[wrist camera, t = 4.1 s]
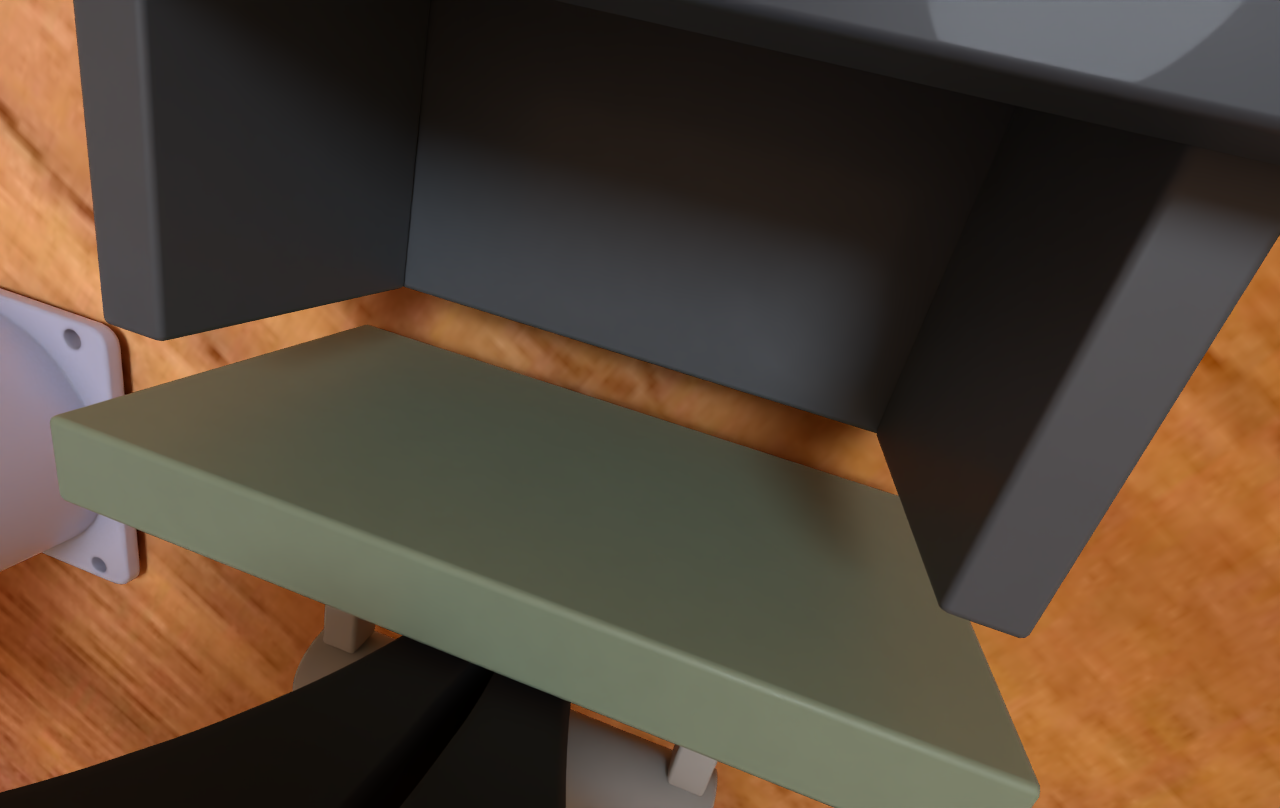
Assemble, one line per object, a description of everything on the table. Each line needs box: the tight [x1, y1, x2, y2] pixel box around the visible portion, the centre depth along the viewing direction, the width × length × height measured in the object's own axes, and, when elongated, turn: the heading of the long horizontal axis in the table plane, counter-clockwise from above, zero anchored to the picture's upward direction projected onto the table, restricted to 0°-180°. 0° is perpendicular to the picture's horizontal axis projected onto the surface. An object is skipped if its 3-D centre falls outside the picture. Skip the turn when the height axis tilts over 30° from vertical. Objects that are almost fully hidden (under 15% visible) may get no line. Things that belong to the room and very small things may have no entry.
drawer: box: [50, 0, 1280, 808], centre depth 8 cm, size 18×11×6 cm, turn 166°
